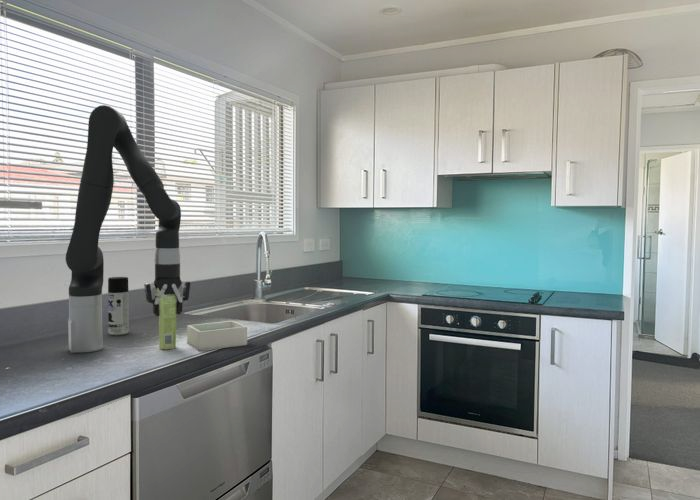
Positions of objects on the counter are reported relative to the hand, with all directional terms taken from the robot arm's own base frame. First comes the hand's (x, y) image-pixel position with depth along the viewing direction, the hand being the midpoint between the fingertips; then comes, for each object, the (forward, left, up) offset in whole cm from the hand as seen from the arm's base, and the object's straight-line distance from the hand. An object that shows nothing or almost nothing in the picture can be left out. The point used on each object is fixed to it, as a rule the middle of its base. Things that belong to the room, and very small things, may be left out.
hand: (167, 314), depth 168 cm
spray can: (-9, +30, -11) cm, 33 cm away
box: (+15, -3, -11) cm, 19 cm away
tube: (0, 0, -11) cm, 11 cm away
